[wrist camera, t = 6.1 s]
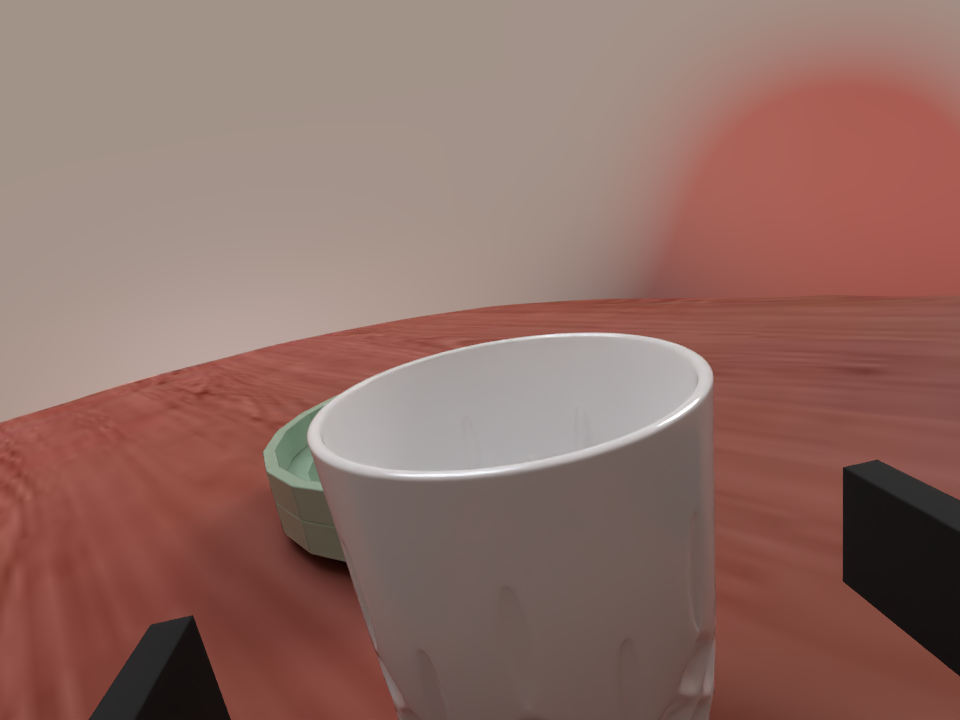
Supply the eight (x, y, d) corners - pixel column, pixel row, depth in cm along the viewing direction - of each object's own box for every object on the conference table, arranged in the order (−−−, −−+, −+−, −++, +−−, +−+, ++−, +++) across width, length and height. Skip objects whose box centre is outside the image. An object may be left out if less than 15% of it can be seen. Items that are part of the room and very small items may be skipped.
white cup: (363, 742, 15) (267, 404, 12) (576, 602, 19) (535, 322, 16) (540, 1110, 8) (412, 549, 6) (814, 779, 12) (807, 353, 10)
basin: (556, 397, 39) (549, 344, 38) (665, 525, 22) (657, 435, 21) (316, 447, 37) (301, 392, 36) (240, 620, 21) (209, 530, 20)
